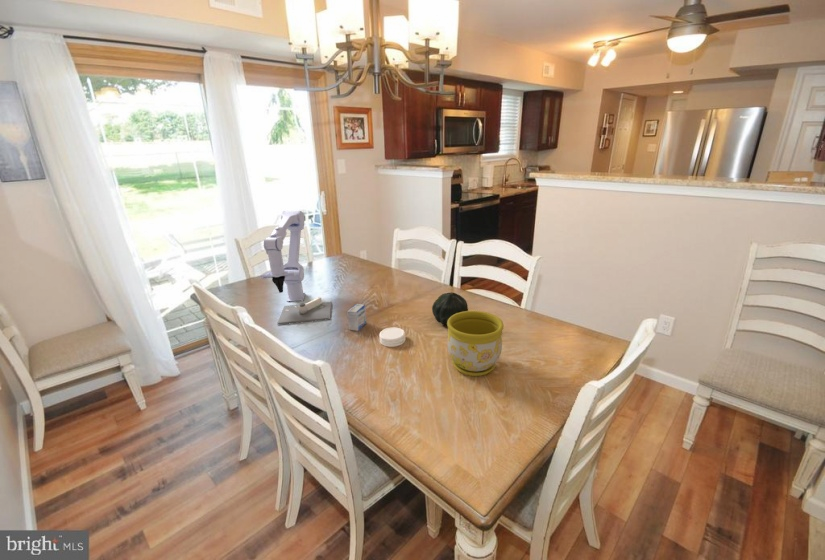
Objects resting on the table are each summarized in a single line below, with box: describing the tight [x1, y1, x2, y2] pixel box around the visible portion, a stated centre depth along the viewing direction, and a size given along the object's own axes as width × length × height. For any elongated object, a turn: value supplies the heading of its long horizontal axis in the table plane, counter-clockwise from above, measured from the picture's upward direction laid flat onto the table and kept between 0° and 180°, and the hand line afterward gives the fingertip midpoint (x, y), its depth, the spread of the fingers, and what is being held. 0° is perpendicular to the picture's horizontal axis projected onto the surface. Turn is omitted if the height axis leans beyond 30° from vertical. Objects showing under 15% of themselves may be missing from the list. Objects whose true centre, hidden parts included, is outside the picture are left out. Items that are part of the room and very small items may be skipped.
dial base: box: [277, 301, 332, 325], centre depth 165 cm, size 18×22×1 cm
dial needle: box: [297, 296, 323, 314], centre depth 167 cm, size 13×4×4 cm, turn 148°
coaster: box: [378, 326, 406, 348], centre depth 139 cm, size 10×10×4 cm
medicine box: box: [346, 303, 367, 332], centre depth 151 cm, size 8×4×9 cm, turn 161°
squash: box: [431, 292, 469, 325], centre depth 151 cm, size 14×15×15 cm
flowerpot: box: [446, 310, 505, 377], centre depth 120 cm, size 18×18×16 cm
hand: (281, 291), depth 166 cm, fingers closed
